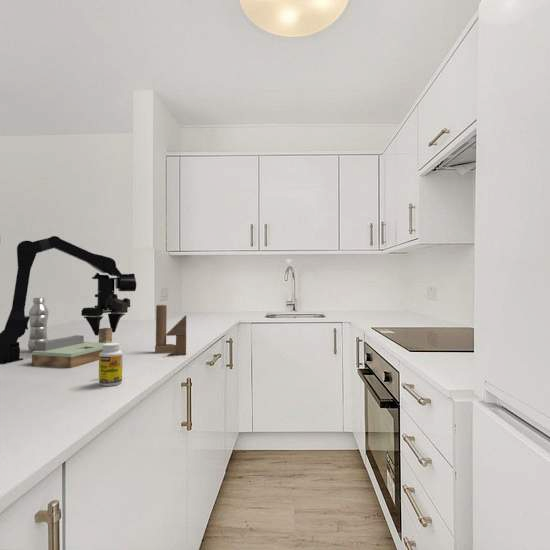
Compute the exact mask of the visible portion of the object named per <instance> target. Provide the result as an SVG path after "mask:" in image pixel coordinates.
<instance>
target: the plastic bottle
mask: <svg viewBox="0 0 550 550" xmlns="http://www.w3.org/2000/svg"><path fill="white" fill-rule="evenodd" d="M32 303H33V305H32V306H31V307H30V309H29V311H28V316H29V317H30V318H29V326H30V327H29V329H30V331H29V337H28V338H29V339H28V343H27V349H28V350H29V351H30V352H32V351H37V350H38V342H42V341H47V340H49V339H48V333H47V331H48V330H47V328H48V326H47V324H48V318H49V309H48V308H47V306H46V305H45V303H46V301H45V297H33V299H32Z"/></svg>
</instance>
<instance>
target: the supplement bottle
mask: <svg viewBox="0 0 550 550" xmlns="http://www.w3.org/2000/svg"><path fill="white" fill-rule="evenodd" d="M123 357H124V356H123V351H122V350H121V349H120V343H118V342H112V343H106V344H103V351H102V352H100V354H99V360H98V384H99V385H100V386H103V387H113V386H117V385H120V384H121V383H122V382H123V360H124V359H123Z"/></svg>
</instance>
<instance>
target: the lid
mask: <svg viewBox="0 0 550 550" xmlns="http://www.w3.org/2000/svg"><path fill="white" fill-rule="evenodd" d="M103 344H106V343H99V342H93V341H92V342H89V341H84V335H79V334H78V335H70V336H64V337H59V338H54V339H48V340H47V341H42V342H38V350H37V351H31V356H32V355H42V356H59V357H74V356H78V355H82V354H86V353H90V352H95V351H99V350H103Z"/></svg>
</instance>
